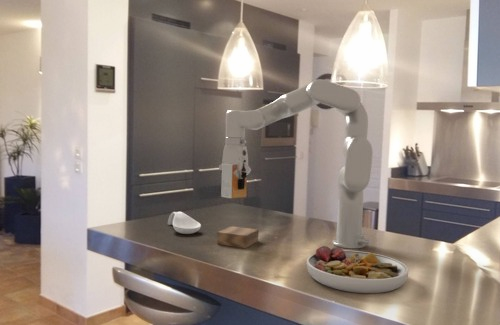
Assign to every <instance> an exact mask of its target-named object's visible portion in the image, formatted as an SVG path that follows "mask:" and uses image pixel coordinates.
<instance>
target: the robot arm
mask: <svg viewBox="0 0 500 325" xmlns="http://www.w3.org/2000/svg"><path fill="white" fill-rule="evenodd" d="M319 104H322V105H326V106H328V107H331V108H334V109H336V111H338V112H339V113H341V114H342V115H343V118H344V121H345V122H344V124H345V125H344V126H345V127H344V138H343V145H342V153H343V156H344V158H345V164H344V166H342V168H341V169H340V170H339V172H338V175H337V185H338V186H337V187H338V189H337V190H338V193H337V194H338V196H337V197H338V199H337V200H338V201H337V218H336V219H337V220H336V237H335V238H334V239H333V240H332V241H331V242H332V243H331V244H332V245H334V247H339V248H341V249H342V248H344V249H354V250H355V249H362V248H364V247H365V246H366V245H368V246H370V245H371V243H372V242H371V238H366V237H365V234H363V233H362V232H363V231H362V230H363V212H364V211H363V208H364V190H365V189H367V187H368V185H369V183H370V179H371V173H372V171H371V170H372V162H373V147H372V144H371V142H370V141H369V140H368V130H369V129H368V128H369V117H368V113H367V110H366V108H365V106H364V105H363V103H362V102H361V96H360V94H359V93H358V92H357V91H356V90H355V89H353V88H349V87H347V86H344V85H340V84H337V83H334V82H332V81H329V80H325V79H321V78H320V79H319V78H318V79H314V80H313V81H311V82H310V83H308V84H305V85H303V86H301V87H298V88H297V89H295V90H292V91H290V92H288V93H285V94H283V95H281V96H280V97H279V98H277V99H276V100H274V101H273V102H272V101H271V102H270V103H269V104H266V105H264V106H262V107H259V108H257V109H253V110H252V109H251V110H238V109H235V110H234V109H230V110H227V111H226V113H225V143H224V144H225V145H224V147H223V152H222V161H221V163H220V164H219V165H218V169H219V171H220V174H222V164H234V165H236V166H237V172H238V175H239V178H240V179H238V189H244V188H245V179H246V177H247V178H248V175H249V174H250V173H251V171H252V168H251V167H250V166H249V154H248V147H247V145H246V144H247V140H246V130H253V131H257V130H260V129H262V128H264V127H266V126H269V125H271V124H273V123H275V122H277V121H280V120H282V119H285V118H286V119H287V118H289V117H292V116H294V115H296V114H299V113H301V112H303V111H305V110H308V109H309V108H312V107H314V106H316V105H319ZM245 145H246V146H245ZM243 166H244V168H243ZM242 169H243V170H242ZM241 170H242V171H241ZM244 170H245V171H244ZM241 173H242V174H241Z"/></svg>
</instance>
